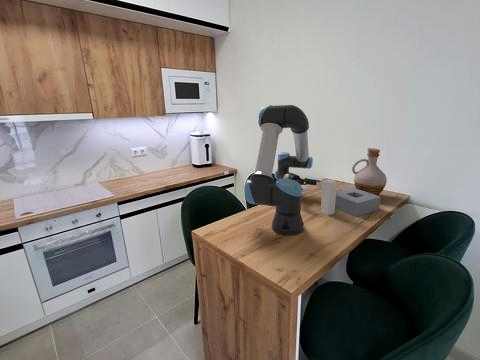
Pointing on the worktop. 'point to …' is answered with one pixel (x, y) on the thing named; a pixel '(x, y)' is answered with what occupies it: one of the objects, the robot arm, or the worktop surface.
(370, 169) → the jug
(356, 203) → the well block
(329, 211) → the post
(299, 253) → the worktop surface
